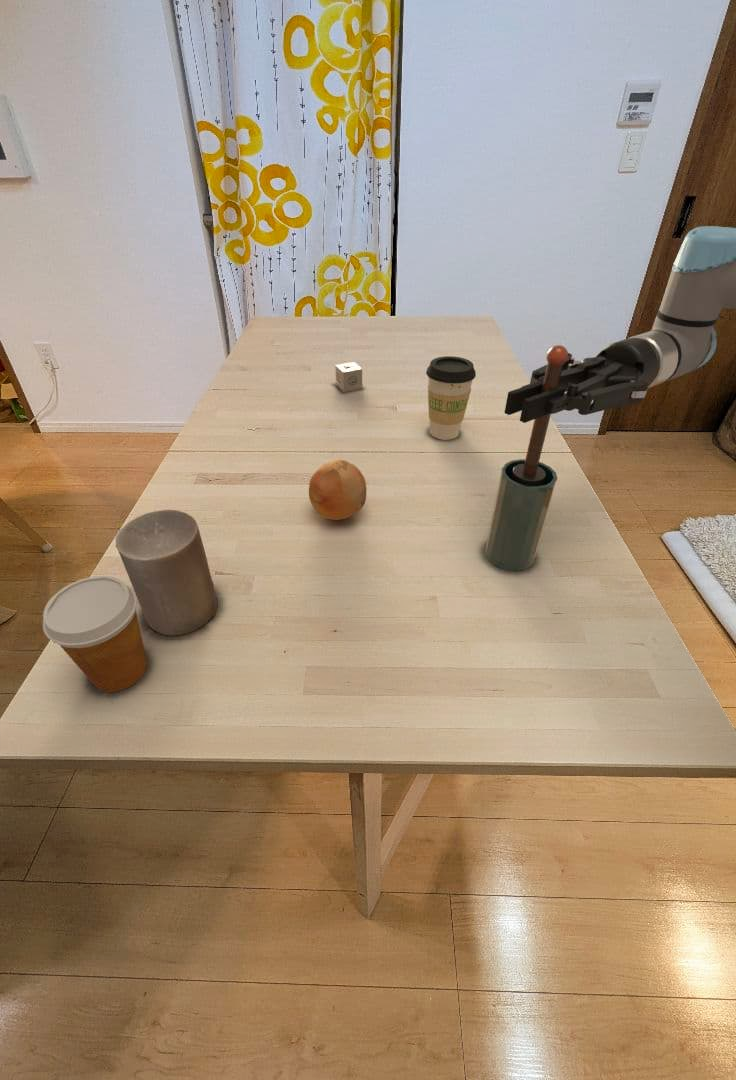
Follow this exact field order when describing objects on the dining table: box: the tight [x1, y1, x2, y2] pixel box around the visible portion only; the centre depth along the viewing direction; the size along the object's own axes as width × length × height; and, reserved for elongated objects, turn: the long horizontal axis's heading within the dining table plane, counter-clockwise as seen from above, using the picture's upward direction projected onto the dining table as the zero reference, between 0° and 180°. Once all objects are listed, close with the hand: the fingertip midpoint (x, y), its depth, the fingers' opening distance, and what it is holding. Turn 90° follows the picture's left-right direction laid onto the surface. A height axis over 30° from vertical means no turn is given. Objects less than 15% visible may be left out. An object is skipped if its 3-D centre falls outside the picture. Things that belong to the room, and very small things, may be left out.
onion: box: [308, 459, 367, 521], centre depth 86 cm, size 10×10×10 cm
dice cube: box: [334, 361, 363, 393], centre depth 128 cm, size 5×5×5 cm
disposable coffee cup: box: [42, 575, 148, 693], centre depth 60 cm, size 10×10×12 cm
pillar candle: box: [114, 509, 219, 637], centre depth 67 cm, size 10×10×15 cm
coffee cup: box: [425, 355, 477, 441], centre depth 107 cm, size 10×10×15 cm
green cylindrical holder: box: [485, 458, 558, 572], centre depth 76 cm, size 7×7×15 cm
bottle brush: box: [511, 344, 569, 487], centre depth 68 cm, size 4×4×26 cm
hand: (516, 407), depth 62 cm, fingers closed on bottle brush, 2 cm apart
